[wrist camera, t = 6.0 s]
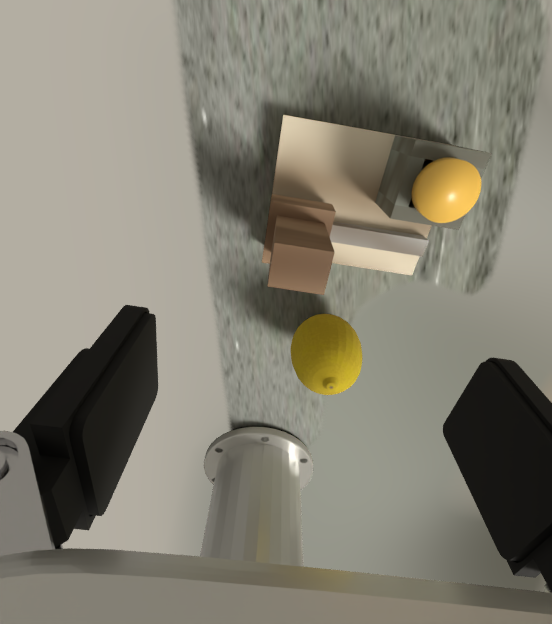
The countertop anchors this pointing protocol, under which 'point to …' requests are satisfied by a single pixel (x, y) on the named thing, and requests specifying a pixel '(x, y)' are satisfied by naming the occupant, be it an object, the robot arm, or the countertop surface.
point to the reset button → (446, 189)
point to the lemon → (326, 354)
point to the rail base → (364, 188)
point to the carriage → (299, 244)
